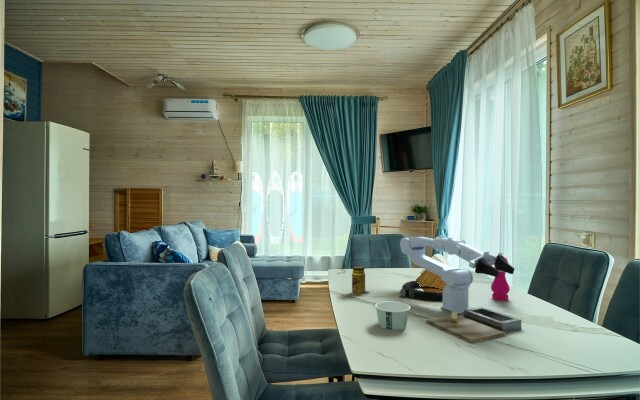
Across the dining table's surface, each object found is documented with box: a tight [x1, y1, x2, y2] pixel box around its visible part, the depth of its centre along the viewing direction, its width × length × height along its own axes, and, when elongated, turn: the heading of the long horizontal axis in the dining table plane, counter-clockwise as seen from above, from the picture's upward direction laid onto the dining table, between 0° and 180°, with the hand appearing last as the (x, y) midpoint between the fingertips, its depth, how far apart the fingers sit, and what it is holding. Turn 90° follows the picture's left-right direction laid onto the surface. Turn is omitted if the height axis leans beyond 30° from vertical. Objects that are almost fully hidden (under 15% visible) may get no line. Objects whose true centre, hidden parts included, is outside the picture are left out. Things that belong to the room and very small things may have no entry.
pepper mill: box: [490, 252, 510, 302], centre depth 158 cm, size 7×7×20 cm
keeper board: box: [425, 311, 506, 344], centre depth 121 cm, size 20×14×4 cm
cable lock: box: [399, 280, 443, 302], centre depth 168 cm, size 28×4×30 cm
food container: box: [374, 300, 411, 331], centre depth 125 cm, size 12×12×7 cm
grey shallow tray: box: [463, 306, 522, 333], centre depth 127 cm, size 16×9×3 cm, turn 25°
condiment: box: [348, 266, 371, 296], centre depth 169 cm, size 7×8×12 cm
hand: (505, 272), depth 124 cm, fingers open, 7 cm apart
